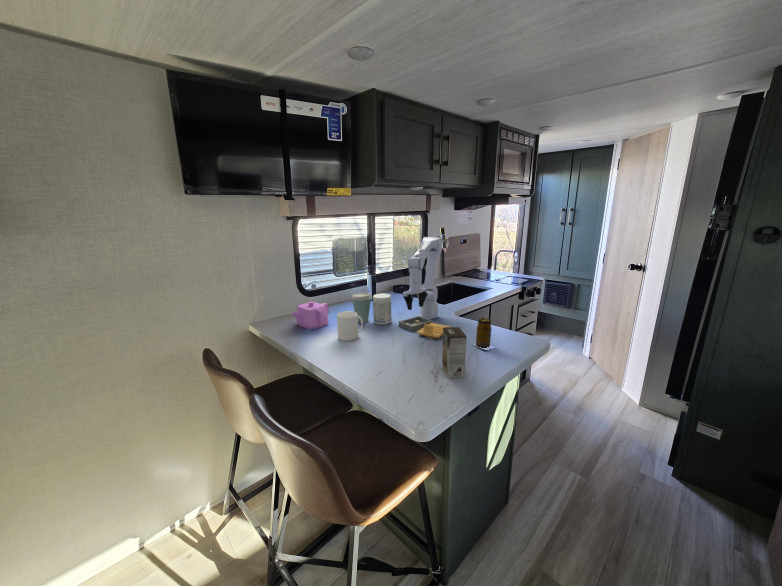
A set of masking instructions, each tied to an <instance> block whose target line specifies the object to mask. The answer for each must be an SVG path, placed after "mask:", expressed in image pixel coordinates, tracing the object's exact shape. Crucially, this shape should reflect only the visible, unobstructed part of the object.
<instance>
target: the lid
mask: <svg viewBox="0 0 782 586" xmlns="http://www.w3.org/2000/svg"><path fill="white" fill-rule="evenodd" d="M444 327H451V326H450V325H445V324H440V323H435V322H432V323H430V324H425V325H424V328H422V329H419V330H416V334H419V335H421V334H422V335H421V336H423V335H426V336H431V337H435V338H436V339H439V338H441V337H440V336H441V335H443V328H444ZM426 336H425V337H426Z"/></svg>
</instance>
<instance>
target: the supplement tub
mask: <svg viewBox="0 0 782 586" xmlns="http://www.w3.org/2000/svg"><path fill="white" fill-rule="evenodd" d="M372 308H373V309H372V310H373V322H374V324H376V325H378V326H380V325H381V326H382V325H383V326H385V325H389V324H390V323H392V318H393V317H392V297H391V294H389V293H376V294H374V295H373V296H372Z"/></svg>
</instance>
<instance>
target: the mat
mask: <svg viewBox="0 0 782 586" xmlns="http://www.w3.org/2000/svg"><path fill="white" fill-rule="evenodd" d="M420 335H421V336H423V337H425V338H428V339H430V340H436V339H437V338H435V337H431V336H426V335H422V334H420ZM441 337H442V338H443V335H441V336H440V337H439V338H441Z"/></svg>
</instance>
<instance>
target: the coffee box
mask: <svg viewBox="0 0 782 586" xmlns="http://www.w3.org/2000/svg"><path fill="white" fill-rule="evenodd" d="M466 351H467V335H466V334H465V332H464V331H463V330H462V328H461V327H460V326H458V327H457V326H456V327H455V326H450V327H444V328H443V336H442V355H441V357H442V358H441V359H442V360H441V361H442V362H441V367H442V369H443V371H444V373H445V376H446V377H447V379H452V378H455V379H457V378H465V369H466V368H465V367H466V366H465V365H466V354H467V353H466Z"/></svg>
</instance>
